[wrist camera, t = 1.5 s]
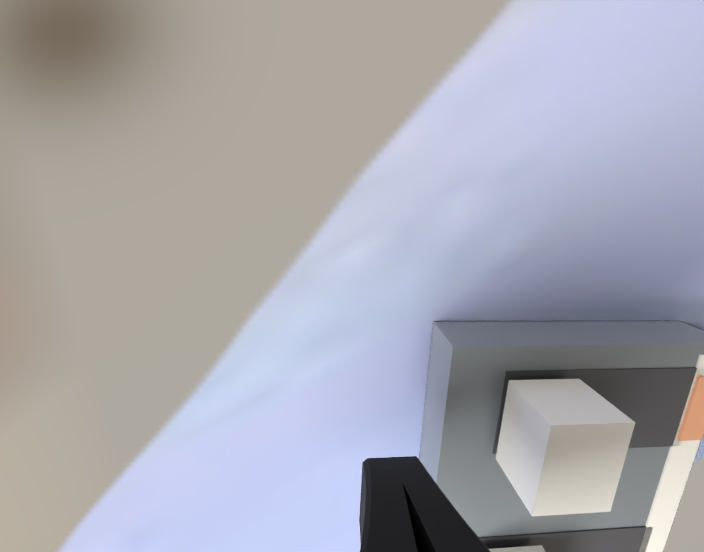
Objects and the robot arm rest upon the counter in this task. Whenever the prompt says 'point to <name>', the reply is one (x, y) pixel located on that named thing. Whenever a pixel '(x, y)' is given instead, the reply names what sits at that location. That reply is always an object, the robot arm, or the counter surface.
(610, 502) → the switch tab
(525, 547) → the switch tab
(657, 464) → the switch panel
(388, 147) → the counter surface
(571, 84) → the counter surface
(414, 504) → the robot arm
